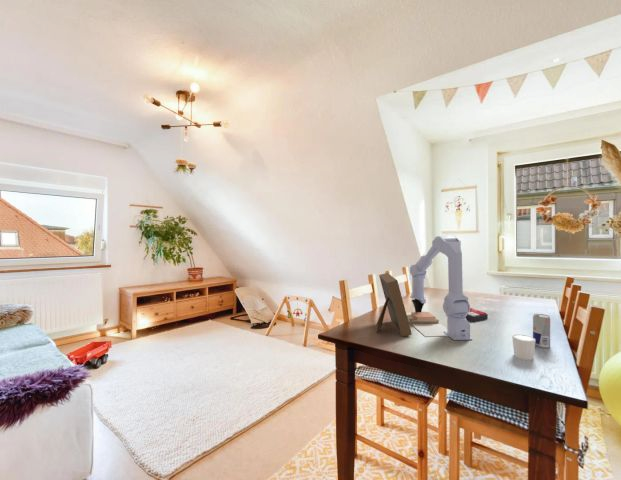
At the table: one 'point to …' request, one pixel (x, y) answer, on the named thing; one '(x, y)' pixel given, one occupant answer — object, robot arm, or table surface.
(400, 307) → the photo frame
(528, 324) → the table surface
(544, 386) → the table surface
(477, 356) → the table surface
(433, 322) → the deck
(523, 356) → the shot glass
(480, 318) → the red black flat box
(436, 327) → the mat
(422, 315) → the tile
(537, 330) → the energy drink
